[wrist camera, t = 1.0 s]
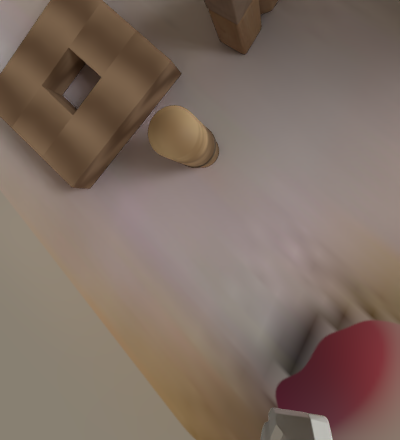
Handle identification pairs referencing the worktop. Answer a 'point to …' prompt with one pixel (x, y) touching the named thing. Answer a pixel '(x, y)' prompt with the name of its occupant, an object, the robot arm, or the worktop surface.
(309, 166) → the worktop surface
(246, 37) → the wooden braced stand
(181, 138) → the peg
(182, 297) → the worktop surface
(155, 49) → the board
